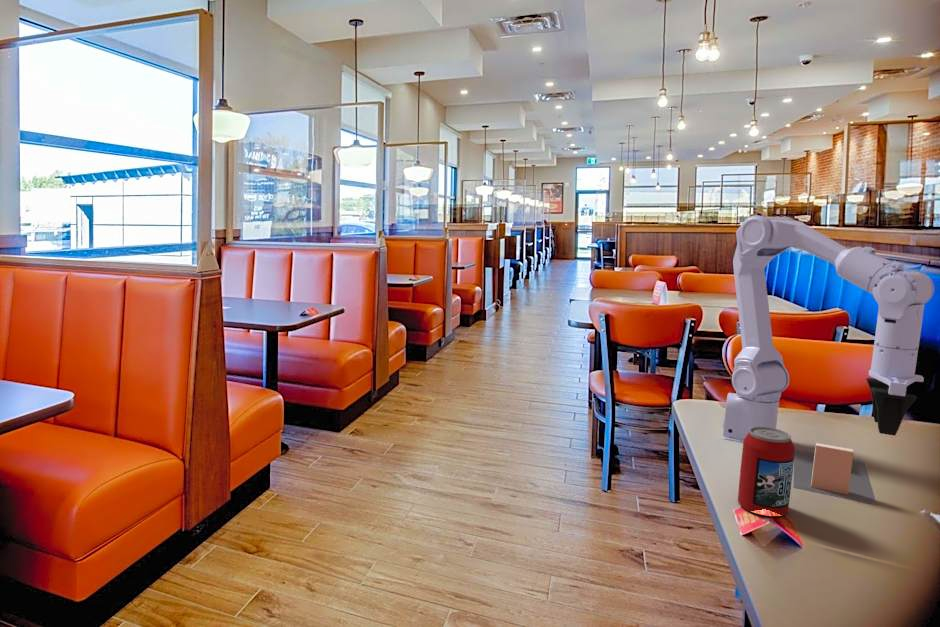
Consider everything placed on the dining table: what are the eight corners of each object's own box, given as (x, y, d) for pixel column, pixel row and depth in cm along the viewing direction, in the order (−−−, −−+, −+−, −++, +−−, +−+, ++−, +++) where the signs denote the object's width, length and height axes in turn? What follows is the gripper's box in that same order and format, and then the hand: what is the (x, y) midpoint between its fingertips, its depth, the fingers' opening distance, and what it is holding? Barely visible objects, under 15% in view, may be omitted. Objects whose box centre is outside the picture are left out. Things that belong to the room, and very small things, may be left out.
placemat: (793, 489, 93) (793, 487, 92) (794, 451, 109) (794, 449, 109) (875, 507, 87) (876, 504, 87) (863, 464, 104) (864, 462, 103)
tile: (811, 486, 93) (816, 445, 92) (811, 483, 94) (815, 442, 93) (847, 494, 90) (853, 452, 89) (847, 491, 92) (852, 449, 91)
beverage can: (767, 525, 81) (776, 444, 79) (727, 504, 87) (734, 428, 85) (797, 515, 84) (806, 437, 82) (756, 496, 90) (764, 422, 88)
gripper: (936, 357, 83) (923, 447, 85) (918, 342, 96) (907, 420, 98) (877, 351, 87) (866, 437, 89) (867, 337, 99) (858, 412, 101)
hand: (884, 428), depth 93 cm, fingers open, 6 cm apart
